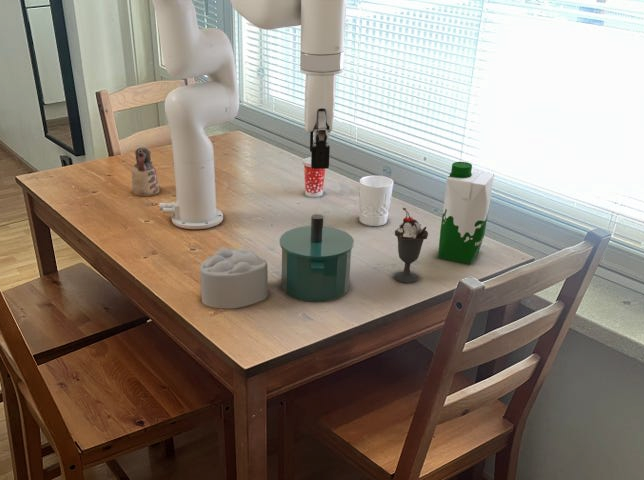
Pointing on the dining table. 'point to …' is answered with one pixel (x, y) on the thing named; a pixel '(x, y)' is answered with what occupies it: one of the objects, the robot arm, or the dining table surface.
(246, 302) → the lumpy-topped squat cylinder
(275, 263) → the dining table surface
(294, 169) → the dining table surface
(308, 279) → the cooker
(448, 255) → the milk carton
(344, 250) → the lid
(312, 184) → the beverage cup
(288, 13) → the robot arm
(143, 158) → the figurine
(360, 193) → the white cup
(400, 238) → the sundae
